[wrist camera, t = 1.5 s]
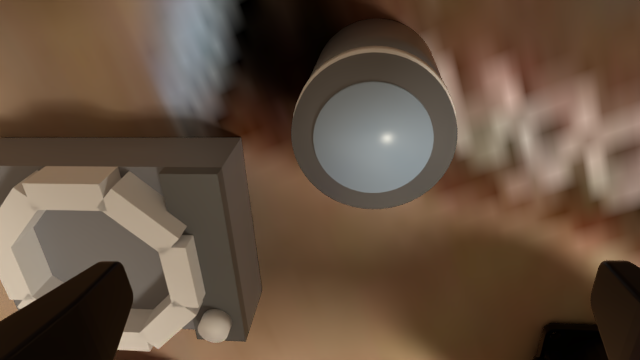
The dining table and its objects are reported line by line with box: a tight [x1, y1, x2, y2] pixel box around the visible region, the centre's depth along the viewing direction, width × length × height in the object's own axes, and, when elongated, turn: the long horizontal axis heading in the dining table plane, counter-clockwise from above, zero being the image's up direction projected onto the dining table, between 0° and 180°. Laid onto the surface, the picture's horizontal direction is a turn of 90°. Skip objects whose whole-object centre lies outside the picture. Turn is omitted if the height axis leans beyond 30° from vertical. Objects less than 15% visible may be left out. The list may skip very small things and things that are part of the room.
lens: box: [291, 18, 457, 209], centre depth 17 cm, size 5×5×6 cm
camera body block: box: [0, 138, 262, 352], centre depth 22 cm, size 12×9×4 cm
